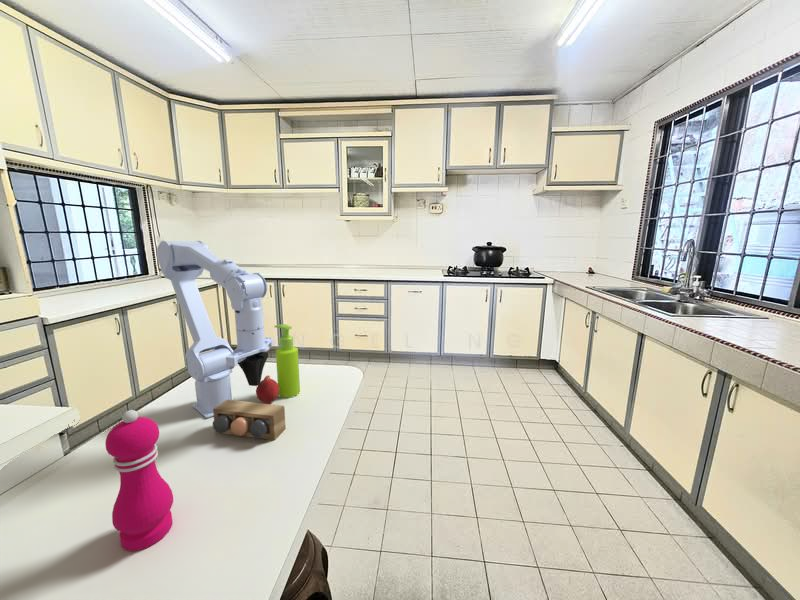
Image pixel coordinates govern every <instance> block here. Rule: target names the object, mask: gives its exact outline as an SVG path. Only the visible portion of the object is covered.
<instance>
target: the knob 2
mask: <svg viewBox="0 0 800 600" xmlns="http://www.w3.org/2000/svg"><path fill="white" fill-rule="evenodd" d="M269 426H270V424H269V419H263V418H262V419H257V420H256V421H254V422H253V423H252V424H251V425H250V427H249V431H250V433H251V435H252V436H254V437H253V438H255V437H256V438H255V439H262V438H261V437H263V436H264V435H265V434H266V433H267V432H268V429H269Z"/></svg>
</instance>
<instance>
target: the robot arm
mask: <svg viewBox="0 0 800 600" xmlns="http://www.w3.org/2000/svg"><path fill="white" fill-rule="evenodd" d="M209 249H210V248H209V245H208V244H207V243H205V242H204V241H202V240H196V241H195V240H194V241H191V240H190V241H189V240H188V241H187V240H186V241H180V240H179V241H175V240H174V241H167V240H162V241H160V242H159V243H158V245H157V248H156V259H157V261H158V264H159V268H160V270H161V272H162V274H163V277H164V278H165V279H167V280H169V281H170V282H171V285H172V288H173V290H174V293H175V295H176V298H177V301H178V303H179V306H180V309H181V312H182V313H183V316H184V320H185V322H186V325H187V327H188V329H189V333H190V335H191V336H190V337H191V339H192V341H193V343H192V345H191V346H190V347H189V348H188V350H187V351H186V352H185V360H186V364H187V371H188V373H189V376H191V378H192V379H194V380H195V381H194V387H195V388H194V389H195V396H196V403H193V405H192V407H194V408H195V409H196V411H198V412H199V413H200V414H201V415H202V416H203V417H205V419H209V418H212V417H214V414H213V409H214V408H215V407H217V406H218V405H220V404H221V403H223V402H224V401H225V400H233V396H232V387H231V386H232V385H231V384H232V383H231V374H232V373H233V369H234V368H236V367H237V366H239V367H240V369H241V370H242V372H243V374H244V376H245V378H246V381H247V383H248V386H252V387H257V386H258V385H259V384H260V382H261V381H262V376H263V371H264V367H265V365H266V362H267V360H268V358H269V352H268V351H269V350H270V347H273V346H274V345H275V344H274V337H267V336H265V328H264V327H265V324H264V312H263V298H264V297H265V296H266V295H267V292H268V284H267V281H266V279H265V277H264V276H263V275H262V274H261V273H260V272H253V273H251V272H247V271H246V269H245V268H242V267H240V266H238V265H237V264H236V263H234V260H233V259H231V258H225V259H224V258H223V259H220V258H218V257H217V256H216V255H214V254H213V253H212V252H211V251H210V250H209ZM204 270H206V271H207V272H209V276H210V278H211V279H212V281H214V282H215V283H217V284H218V285H220V286H221V288H223V289H225V290H226V295H227V296H228V298H229V300H230V301H229V302H230V307H231V308H232V310H234V319H235V334H236V344H237V347H236V348H235V349H234V350H233V348H232V347H231V346H230V345H231V344H229V341H228V340H227V339H225V338H222V337H220V336H217V335H216V332H215V329H214V327H213V324H212V322H211V319H210V318H209V314H208V311H207V308H206V306H205V304H204V301H203V298H202V296H201V293H200V290H199V287H198V285H197V282H196V279H197V278H198V277H200V276H201V275H202V274H203V272H204Z"/></svg>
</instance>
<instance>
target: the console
mask: <svg viewBox="0 0 800 600" xmlns="http://www.w3.org/2000/svg"><path fill="white" fill-rule="evenodd" d="M285 412H286V411H285V405H279V404H278V405H277V404H272V403H270V404H266V403H263V402H251V401H241V400H233V399H232V400H225V401H224V402H223V403H221V404H220V405H218V406H217V407H215V408H214V409H213V414H214V416H213V421H214V420H215V419H216V418H217V417H219V416H220V415H223V414H224V415H226V414H229V415H233V421H234V420H236V419H237V418H238V417H244V416H246V417H251V424H252V423H253V422H254V421H256V420H257V419H262V418H263V419H269V424H270V426H269V429H268V432H267V433H266V434H265V435H264V436H263V437H261V438H260V439H264V440H271V441H272V440H273V441H276V440H277V438H279V436H281V434H282V433H284V431H285V430H286V429H287V428H286V413H285ZM214 432H215V433H216V434H217V433H218V432H217V431H216V430H215V429H214ZM223 434H227V435H233V436H234V435H235V434H234V433H233V432H232V430H231V428H230V429H228V430H227V431H226V432H224V433H223ZM235 436H236V435H235ZM240 437H250V438H255V439H257V438H256V437H254V436H252V435H251V433H250V431H249V430H248V431H247V432H246V433H244V434H243V435H241V436H240Z"/></svg>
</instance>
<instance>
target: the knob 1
mask: <svg viewBox="0 0 800 600" xmlns="http://www.w3.org/2000/svg"><path fill="white" fill-rule="evenodd" d="M232 422H233V415H229V414H226V415H224V414H223V415H220V416H219V417H217V418H216V419H215V420H214V419H213V421H212V428H213V429H214V431H215V430H216V431H217V432H218V433H219V434H225V433H224V432H226V431H227V430H228V429H230V428H231V423H232ZM217 432H216V433H217Z"/></svg>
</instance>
